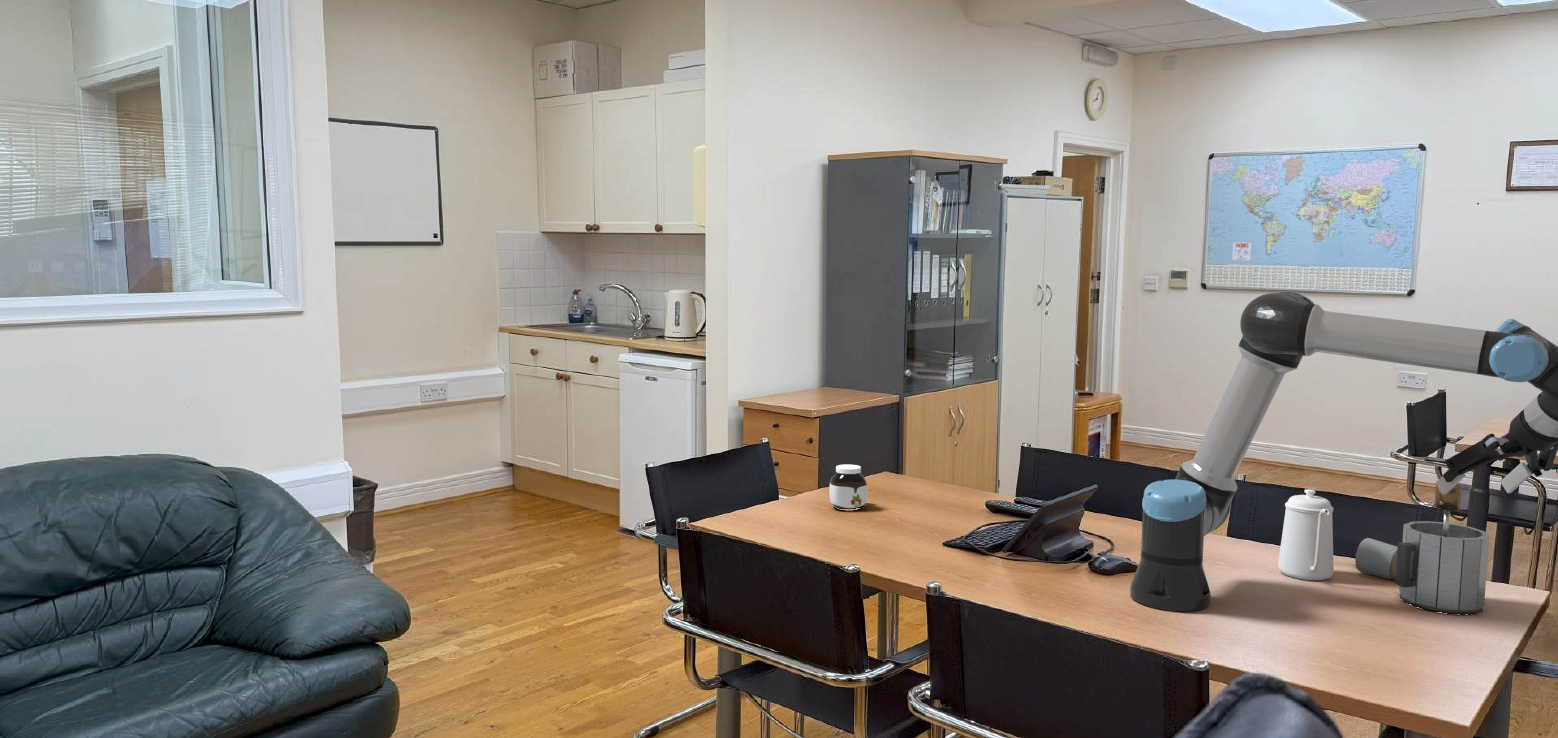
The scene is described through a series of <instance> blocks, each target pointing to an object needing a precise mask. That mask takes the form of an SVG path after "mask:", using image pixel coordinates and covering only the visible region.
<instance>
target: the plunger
mask: <svg viewBox="0 0 1558 738" xmlns="http://www.w3.org/2000/svg"><path fill="white" fill-rule="evenodd" d="M1437 481H1438V480H1437ZM1437 481H1435V489H1434V490H1435V491H1434V504H1433V506H1434V508H1436V509H1439V510H1443V521H1442V523H1443V533H1442V537H1448V533H1449V523H1450V519H1451V518H1450V514H1451V511H1460V510H1461V505H1462V495H1463V494H1462V493H1463V483H1461V482H1459V483H1458V484H1457V485H1455V486H1454V487H1453V488H1452V489H1451V490H1450V491H1449V492H1448V493H1447V494H1446V495H1442V493H1441V491H1440V490H1439V488H1438V486H1437V484H1436V482H1437Z"/></svg>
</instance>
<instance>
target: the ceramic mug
mask: <svg viewBox="0 0 1558 738" xmlns="http://www.w3.org/2000/svg"><path fill="white" fill-rule="evenodd" d="M1397 548H1398V545H1397V546H1396V545H1393V544H1391V543H1390V544H1389V543H1386V542H1383V541H1380V540H1377V539H1373V538H1370V537H1366V538H1364V539H1363V540H1361V542H1359V545H1358V547H1357V549H1356V552H1355V561H1354V562H1355V563H1354V564H1355V568H1356V570H1358V571H1359V572H1360V573H1363V574H1367V575H1372V576H1374V577H1379V578H1383V579H1387V580H1393V581H1395V578H1396V563H1397Z"/></svg>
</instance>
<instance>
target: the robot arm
mask: <svg viewBox="0 0 1558 738" xmlns="http://www.w3.org/2000/svg"><path fill="white" fill-rule="evenodd" d="M1239 322H1240V324H1239V325H1240V332H1241V335H1242V336H1241V339H1240V341H1239V343H1238V345H1237V346H1238V347H1237V348H1238V349H1239V351H1240V354H1241V358H1240V360H1239V361H1238V364H1237V367H1236V369H1235V370H1234V372H1233V375H1232V377H1231V379H1230V381H1229V382H1228V385H1227V387H1226V389H1225V392H1224V393H1223V395H1222V398H1221V400H1220V402H1219V403H1218V405H1217V408H1216V410H1215V413H1214V414H1213V416H1212V419H1211V421H1210V422H1209V425H1208V427H1207V429H1206V431H1205V433H1204V435H1203V438H1202V440H1201V442H1200V443H1199V446H1198V448H1197V450H1196V452H1195V454H1194V457H1193V459H1191V460H1190V459H1189V460H1187V461H1184V462H1183V463H1182V464H1181V465H1180V468H1179V470H1178V472H1177V475H1176V476H1175V478H1174V479H1164V480H1157V481H1154V482H1151V483H1150V484H1147V486H1146V487H1145V488H1144V491H1143V498H1142V502H1141V506H1142V519H1141V520H1142V522H1141V547H1140V549H1141V551H1140V560H1139V562H1138V566H1137V567H1136V570H1135V573H1134V574H1133V575H1134V576H1133V577H1132V581H1131V583H1130V592H1129V594H1130V598H1131V599H1132V600H1133V601H1135V602H1136V603H1138V604H1141V605H1143V606H1146V607H1149V608H1155V609H1159V610H1164V611H1171V612H1194V611H1201V610H1205V609H1207V608H1209V607H1210V606H1211V596H1212V595H1211V589H1210V586H1209V583H1208V579H1207V576H1206V573H1205V570H1204V565H1203V561H1204V542H1205V541H1204V540H1205V536H1207V535H1208V534H1210V533H1212V532H1214V531H1216V530H1218V529H1219V528H1220V527H1221V526H1222V525H1223V524H1224V523H1225V522H1226V520H1227V519H1228V517H1229V515H1230V512H1231V507H1232V500H1233V499H1234V496H1235V495H1236V492H1237V490H1238V484H1237V482H1236V480H1235V476H1236V474H1237V472H1238V470H1239V468H1240V466H1241V464H1242V462H1243V460H1244V458H1245V455H1246V454H1247V452H1248V450H1249V447H1250V446H1251V443H1252V441H1253V439H1254V437H1255V435H1256V433H1257V431H1258V429H1259V427H1260V425H1261V423H1262V421H1263V420H1264V417H1265V415H1266V413H1267V411H1268V409H1269V407H1270V404H1271V403H1272V401H1273V398H1274V397H1275V395H1276V392H1277V391H1278V390H1279V389H1278V388H1279V387H1280V384H1282V380H1283V379H1284V377H1285V374H1287V373H1289V372H1293V371H1295V370H1297V369H1298V367H1299V364H1300V362H1302V359H1303V357H1310V356H1312V355H1314V354H1315V353H1322V354H1329V355H1336V356H1344V357H1351V358H1358V359H1363V360H1365V359H1367V360H1373V361H1380V362H1387V363H1388V362H1389V363H1394V364H1402V365H1408V366H1416V367H1423V368H1430V369H1437V370H1445V371H1446V370H1447V371H1452V372H1459V373H1460V372H1461V373H1466V374H1473V375H1480V376H1486V377H1491V378H1493V377H1494V378H1499V379H1502V380H1504V381H1508V382H1511V383H1512V382H1514V383H1525V382H1527V383H1529V384H1531V385H1532V386H1533V387H1534V388H1536V389H1538V390H1539V391H1541V392H1540V393H1539V394H1538V395H1537V396H1535V398H1533V399H1532V400H1530V402H1529V403H1528V404H1527V405H1526V406H1525V407H1524V408H1523V409H1522V410H1521V411H1520V412H1519V413H1518V414H1517V415H1516V416H1515V417H1513V418H1512V420H1511V421H1510V423H1509V429H1508V432H1507V433H1505V434H1504V435H1501V436H1500V437H1496V436H1495V434H1494V433H1489V434H1487V435H1485V437H1483V438H1482V439H1481V440H1479V441H1478V442H1476V443H1474V444H1472V445H1471V446H1468V447H1467V448H1465V449H1463V450H1461V451H1460V452H1458V453H1456V454H1454V455H1453V456H1451V457H1449V458H1448V459H1446V460H1445V461H1444V463H1445V465H1446V467H1447V468H1448V469H1447V470H1446V471H1445V473H1443V474H1442V476H1441V477H1440V478H1439V479H1438V480H1437V482H1436V481H1435V485H1436V484H1437V486H1438V488H1439V490H1440V491H1441V493H1442V495H1446V494H1447V493H1448V492H1449V491H1450V490H1451V489H1452V488H1453V487H1454V486H1455V485H1457V484H1458V483H1461V481H1462V480H1463V479H1464V478H1465V477H1466V473H1468V472H1470V471H1471V472H1472V471H1473V470H1476V469H1479V468H1480V467H1483V466H1485V465H1488V464H1490V463H1492V462H1495V461H1499V462H1500V461H1501V462H1502V461H1504V460H1507V459H1509V458H1512V457H1513V458H1514V457H1515V458H1516V457H1517V458H1523V457H1525V461H1526V462H1520V463H1519V464H1518V465H1516V466H1515V468H1513V469H1512V470H1511V471H1510V472H1509V473H1508V474H1507V475H1505V476H1504V478H1502V479H1501V480H1500V483H1501V485H1502V487H1503V488H1504V490H1505V491H1506V493H1507V494H1512V493H1513V492H1514V491H1515V490H1517V488H1518V487H1520V486H1521V485H1522V484H1523V483H1524V482H1525V481H1526V480H1528V479H1529V478H1530V477H1531V476H1532V475H1534V476H1535V477H1536V478H1538V477H1540V476H1543V472H1542V470H1543V471H1544V472H1549V471H1550V470H1552V467H1553V465H1554V462H1555V459H1556V456H1557V453H1558V345H1556V344H1554V343H1553V342H1552V341H1550V340H1549V339H1547V338H1545V337H1544V336H1542V335H1541V334H1539V333H1538V332H1536V331H1534V330H1533V329H1532V328H1531V327H1529V326H1528V325H1526V324H1523V323H1522V322H1519V321H1518V320H1516V319H1514V318H1509V319H1506V320H1504V321H1503V322H1502V323H1501V324H1500V326H1499V327H1497V328H1496V329H1495V331H1492V330H1483V329H1477V328H1468V327H1467V328H1466V327H1460V326H1459V327H1458V326H1452V325H1451V326H1450V325H1442V324H1437V323H1436V324H1434V323H1427V322H1420V321H1419V322H1417V321H1409V320H1401V319H1393V318H1384V317H1379V316H1378V317H1377V316H1368V315H1360V314H1351V313H1343V312H1335V311H1328V310H1324V309H1323V308H1322V306H1320V305H1319V304H1317V303H1314V301H1312V300H1311V299H1310V298H1308V297H1307V296H1305V295H1303V294H1301V293H1298V292H1294V291H1290V290H1289V291H1286V290H1284V291H1278V292H1271V293H1266V294H1265V293H1264V294H1262V295H1259V296H1257V297H1255V298H1254V299H1252V300H1251V301H1250V302H1249V303H1248V304H1247V305H1246V306H1245V308H1244V310H1243V311H1242V313H1241V317H1240V321H1239ZM1499 448H1500V449H1499ZM1498 450H1500V452H1502V454H1500V452H1499V451H1498ZM1538 452H1539V454H1538ZM1526 463H1527V464H1526Z"/></svg>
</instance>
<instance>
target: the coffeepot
mask: <svg viewBox="0 0 1558 738" xmlns="http://www.w3.org/2000/svg"><path fill="white" fill-rule="evenodd" d="M1304 493H1305V494H1298V495H1297V494H1295V495H1292V496H1290V497H1289V499H1288V500H1287V501H1286V502H1285V503H1284V507H1285V513H1284V520H1283V527H1282V532H1281V533H1282V535H1281V541H1280V548H1279V555H1278V561H1277V569H1278V571H1279V572H1280V573H1282V574H1283V575H1285V576H1288V577H1290V578H1293V577H1294V579H1298V580H1305V581H1316V580H1317V581H1325V580H1329V579H1331V578H1332V577H1333V576H1334V569H1335V568H1334V539H1333V538H1334V536H1333V535H1334V532H1333V531H1334V530H1333V529H1334V528H1333V512H1334V507H1333V506H1332V505H1331V501H1330V500H1328V499H1327V498H1324V497H1322V496H1318V495H1315V494H1316V490H1314V489H1304ZM1317 581H1316V582H1317Z"/></svg>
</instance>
